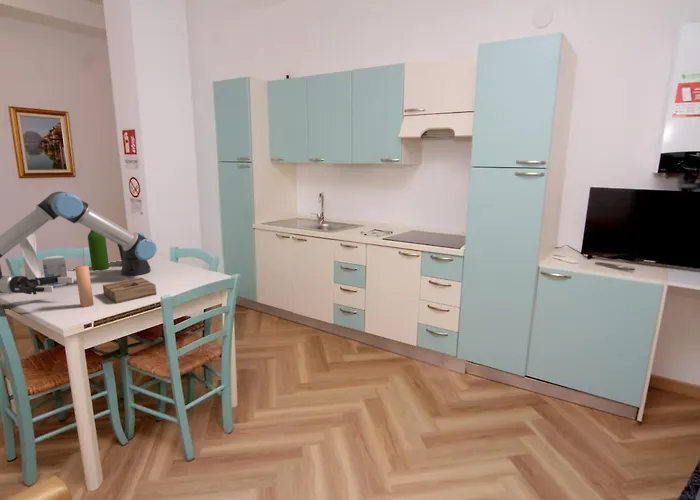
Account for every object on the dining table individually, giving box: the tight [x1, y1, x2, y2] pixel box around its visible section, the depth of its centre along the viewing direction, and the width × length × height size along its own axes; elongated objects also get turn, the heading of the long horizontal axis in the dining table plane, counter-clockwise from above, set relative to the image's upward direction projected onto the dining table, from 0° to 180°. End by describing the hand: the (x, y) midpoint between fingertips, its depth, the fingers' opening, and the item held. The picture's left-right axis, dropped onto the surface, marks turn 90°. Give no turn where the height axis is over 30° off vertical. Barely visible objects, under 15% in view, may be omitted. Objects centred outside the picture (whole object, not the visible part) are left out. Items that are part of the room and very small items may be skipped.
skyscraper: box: [19, 230, 42, 280], centre depth 220 cm, size 8×8×28 cm
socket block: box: [102, 277, 157, 304], centre depth 202 cm, size 18×18×5 cm
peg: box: [74, 265, 95, 308], centre depth 186 cm, size 5×5×18 cm
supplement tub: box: [42, 255, 68, 288], centre depth 216 cm, size 10×10×15 cm
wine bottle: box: [87, 229, 110, 271], centre depth 246 cm, size 9×9×32 cm
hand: (63, 284), depth 185 cm, fingers open, 13 cm apart
